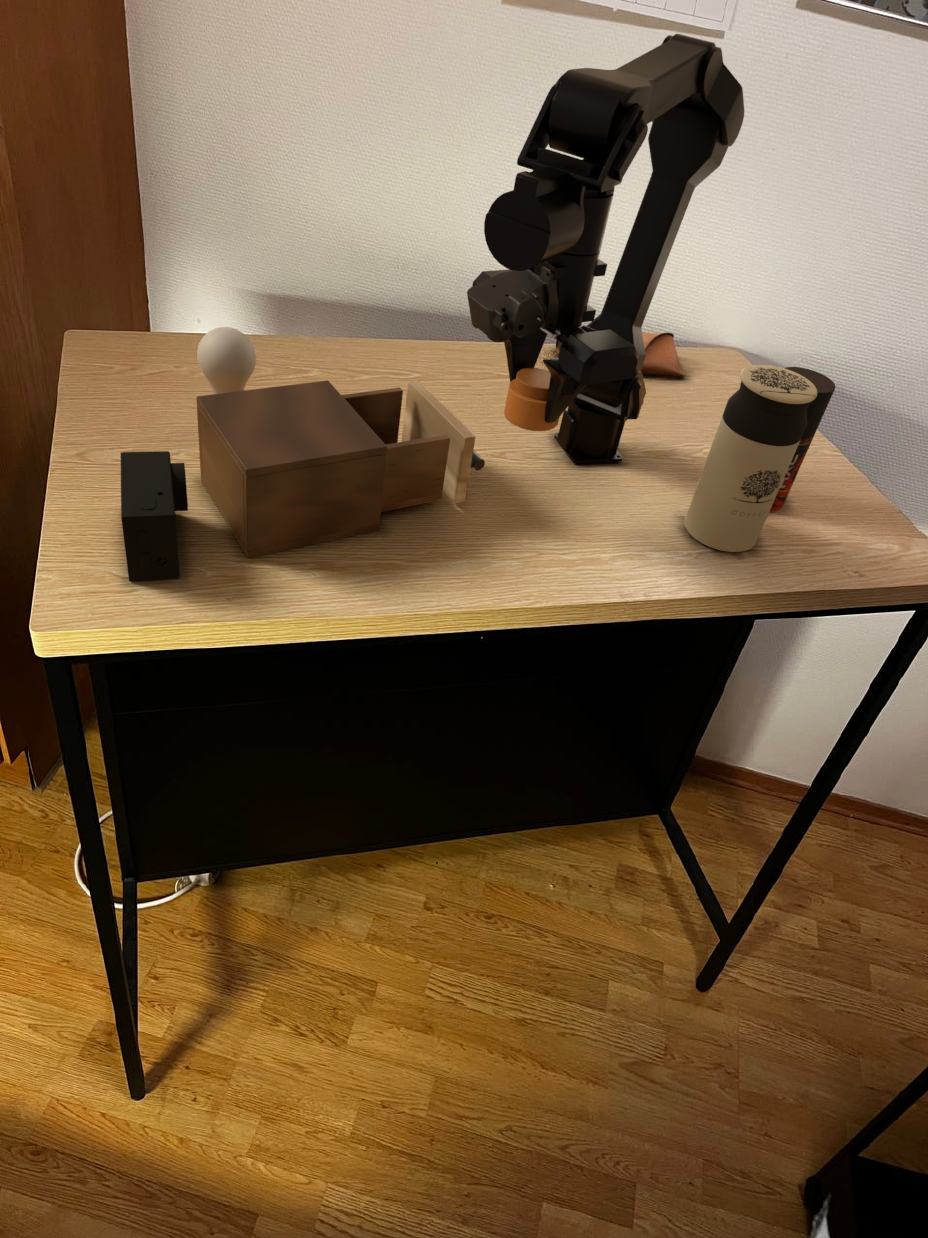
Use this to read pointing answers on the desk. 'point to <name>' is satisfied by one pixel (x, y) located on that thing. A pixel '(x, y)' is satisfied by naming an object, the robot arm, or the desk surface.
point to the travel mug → (749, 457)
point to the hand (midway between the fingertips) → (532, 407)
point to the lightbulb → (226, 359)
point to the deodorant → (813, 420)
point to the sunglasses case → (657, 355)
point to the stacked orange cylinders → (529, 400)
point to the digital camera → (151, 513)
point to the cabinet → (290, 466)
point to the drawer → (418, 446)
